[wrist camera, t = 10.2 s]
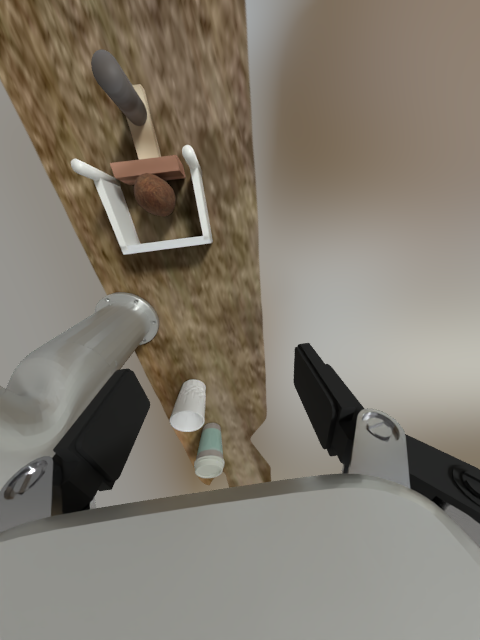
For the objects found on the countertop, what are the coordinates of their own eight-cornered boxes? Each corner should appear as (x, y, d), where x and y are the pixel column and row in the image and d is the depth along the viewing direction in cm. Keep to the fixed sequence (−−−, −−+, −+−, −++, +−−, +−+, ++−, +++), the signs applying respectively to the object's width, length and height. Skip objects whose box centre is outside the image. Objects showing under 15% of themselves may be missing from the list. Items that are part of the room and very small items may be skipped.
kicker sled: (100, 96, 23) (48, 40, 16) (166, 88, 23) (142, 29, 16) (129, 185, 27) (98, 169, 21) (185, 178, 28) (172, 160, 21)
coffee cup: (207, 438, 61) (203, 482, 50) (194, 425, 57) (186, 470, 46) (229, 430, 59) (229, 473, 49) (216, 416, 56) (214, 460, 45)
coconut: (141, 199, 29) (114, 188, 22) (159, 173, 27) (136, 152, 20) (168, 225, 31) (150, 223, 24) (186, 202, 29) (173, 192, 22)
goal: (109, 178, 27) (68, 159, 20) (201, 167, 27) (192, 144, 20) (136, 251, 32) (111, 257, 25) (213, 241, 32) (210, 244, 25)
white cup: (192, 400, 52) (185, 435, 43) (173, 385, 48) (162, 420, 39) (213, 389, 50) (210, 423, 41) (195, 373, 47) (188, 406, 38)
